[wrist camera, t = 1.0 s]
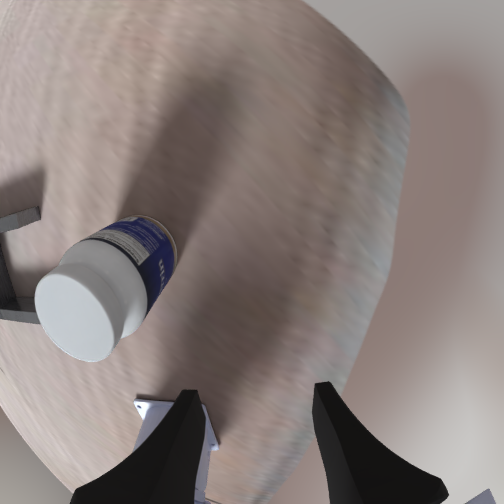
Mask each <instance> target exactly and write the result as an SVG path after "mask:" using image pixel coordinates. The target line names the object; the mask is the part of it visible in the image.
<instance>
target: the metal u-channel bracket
mask: <svg viewBox="0 0 504 504" xmlns="http://www.w3.org/2000/svg"><path fill="white" fill-rule="evenodd" d="M38 220H41V219H40V213H39V207H38V206H37V207H33V208H30V209H27V210H23V211H20V212H17V213H13V214H10V215H7V216H4V217H1V218H0V233H2V232H6V231H10V230H14V229H18V228H21V227H23V226H26V225H28V224H30V223H33V222H35V221H38ZM0 319H4V320H10V321H17V322H25V323H33V324H41V323H40V320H39V318H38V315H37V312H36V307H35V297H16V296H15V293H14V290H13V287H12V284H11V281H10V278H9V275H8V271H7V268H6V265H5V261H4V257H3V254H2V250H1V246H0Z"/></svg>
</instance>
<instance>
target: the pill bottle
mask: <svg viewBox="0 0 504 504" xmlns="http://www.w3.org/2000/svg"><path fill="white" fill-rule="evenodd" d="M176 263H177V250H176V245H175V242H174V240H173V238H172V236H171V234H170V233H169V231H168V230H167V229H166V228H165V227H164V226H163V225H162V224H161V223H159V222H158V221H157V220H155V219H153V218H150V217H147V216H142V215H133V216H129V217H126V218H123V219H121V220H119V221H117V222H115V223H113V224H111V225H109V226H107V227H105V228H103V229H102V230H100V231H98V232H96V233H94V234H92V235H90V236H89V237H87V238H85V239H83V240H81V241H80V242H78V243H76V244H75V245H73V246H72V247H71V248H69V249H68V250H67V251H66V253H65V254H64V255H63V257H62V259H61V261H60V263H59V266H57V267H56V268H54V269H53V270H52V271H50V272H49V273H48V274H46V275H45V276H44V277H43V278H42V279H41V280H40V282H39V283H38V285H37V287H36V291H35V307H36V312H37V315H38V318H39V320H40V323H41V325H42V327H43V328H44V330H45V332H46V333H47V335H48V336H49V337H50V339H51V340H52V341H53V342H54V343H55V344H56V345H57V346H58V347H59V348H60V349H61V350H63V351H64V352H66V353H67V354H69V355H70V356H72V357H74V358H76V359H79V360H83V361H87V362H96V361H100V360H103V359H105V358H106V357H107V356H109V355H110V353H111V352H112V351H113V349H114V348H115V347H116V345H117V344H118V342H119V340H120V339H121V338H124V337H127V336H128V335H130V334H132V333H133V332H134V331H135V330H137V328H138V327H139V326H140V325H141V324H142V322H143V321H144V319H145V317H146V316H147V314H148V313H149V311H150V309H151V307H152V306H153V304H154V303H155V301H156V300H157V298H158V296H159V295H160V293H161V292H162V290H163V289H164V287H165V286H166V284H167V283H168V281H169V279H170V278H171V276H172V275H173V273H174V271H175V268H176Z"/></svg>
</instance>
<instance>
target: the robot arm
mask: <svg viewBox="0 0 504 504" xmlns="http://www.w3.org/2000/svg"><path fill="white" fill-rule="evenodd" d="M134 404H135V406H136V408H137V410H138V412H139V414H140V415H141V417H142V419H143V423H142V426H141V429H140V432H139V435H138V438H137V440H136V443H135V446H134V449H133V452H132V454H130V455H129V456H128V457H127V458H126V459H125V460H123V461H122V462H121V463H120V464H118V465H117V466H116V467H114V468H113V469H111V470H110V471H108V472H107V473H105V474H104V475H102V476H100V477H99V478H97V479H95V480H93V481H91V482H89V483H87V484H85V485H83V486H81V487H79V488H77V489H76V490H75V492H74V494H73V496H72V499H71V502H70V504H211V503H210V502H209V501H205V492H204V490H205V488H206V485H207V477H208V469H209V461H210V453H211V450H218V449H219V445H218V442H217V439H216V437H215V434H214V431H213V428H212V425H211V422H210V419H209V416H208V413H207V410H206V407H205V405H203V404H201V401H200V398H199V395H198V392H197V390H182V391H181V393H180V394H179V396H178V397H177V399H176V400H175V402H165V401H153V400H143V399H135V400H134ZM312 415H313V422H314V429H315V434H316V438H317V442H318V445H319V449H320V453H321V457H322V460H323V464H324V467H325V471H326V476H327V482H328V490H329V498H330V504H440V503H442V502H443V501H444V500H446V499H447V497H448V496H449V494H448V491H447V489H446V486H445V485H444V483H443V481H442V480H441V479H440V478H438V477H436V476H434V475H431V474H429V473H427V472H425V471H423V470H421V469H419V468H417V467H415V466H414V465H412V464H410V463H408V462H407V461H405V460H404V459H402V458H401V457H399V456H398V455H396V454H395V453H394V452H392V451H391V450H390V449H388V448H387V447H386V446H385V445H383V444H382V443H381V442H380V441H378V440H377V439H376V438H375V437H374V436H373V435H372V434H371V433H370V432H369V431H368V430H367V429H366V428H365V427H364V426H363V425H362V423H361V422H360V421H359V420H358V419H357V418H356V417H355V416H354V414H353V413H352V412H351V411H350V409H349V408H348V407H347V405H346V404H345V403H344V401H343V400H342V399H341V397H340V396H339V394H338V393H337V391H336V390H335V388H334V387H333V385H332V383H331V382H329V381H328V382H321V383H315V387H314V398H313V407H312ZM465 504H496V503H495V500H494V498H493V496H492V494H491V491H490V489H487V490H485V491H484V492H482V493H481V494H479V495H478V496H476V497H475V498H473V499H471V500H470V501H468V502H467V503H465Z"/></svg>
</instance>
